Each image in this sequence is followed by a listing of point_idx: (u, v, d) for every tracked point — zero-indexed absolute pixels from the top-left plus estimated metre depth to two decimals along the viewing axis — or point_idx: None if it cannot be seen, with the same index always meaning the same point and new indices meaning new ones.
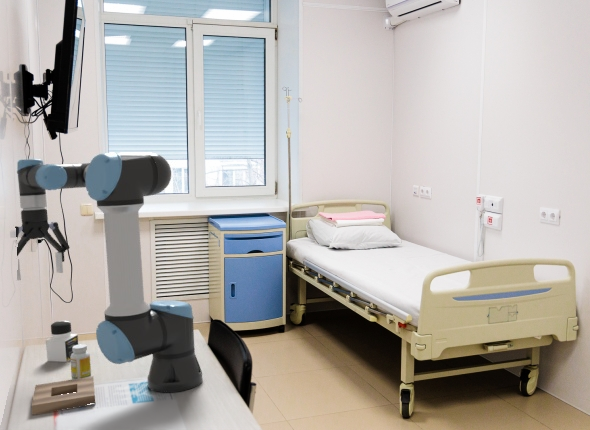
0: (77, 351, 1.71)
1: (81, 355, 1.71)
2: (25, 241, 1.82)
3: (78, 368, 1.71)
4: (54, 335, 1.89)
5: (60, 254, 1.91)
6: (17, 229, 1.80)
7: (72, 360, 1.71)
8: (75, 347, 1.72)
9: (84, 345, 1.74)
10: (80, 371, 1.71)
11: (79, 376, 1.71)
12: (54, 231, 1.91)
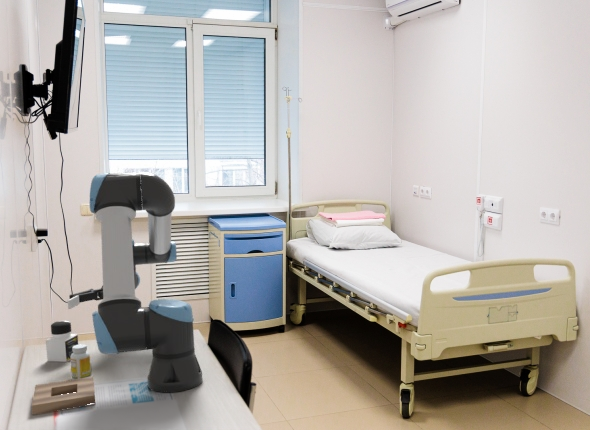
0: (77, 351, 1.71)
1: (81, 355, 1.71)
2: (92, 292, 1.94)
3: (78, 368, 1.71)
4: (54, 335, 1.89)
5: None
6: (91, 289, 1.98)
7: (72, 360, 1.71)
8: (75, 347, 1.72)
9: (84, 345, 1.74)
10: (80, 371, 1.71)
11: (79, 376, 1.71)
12: None
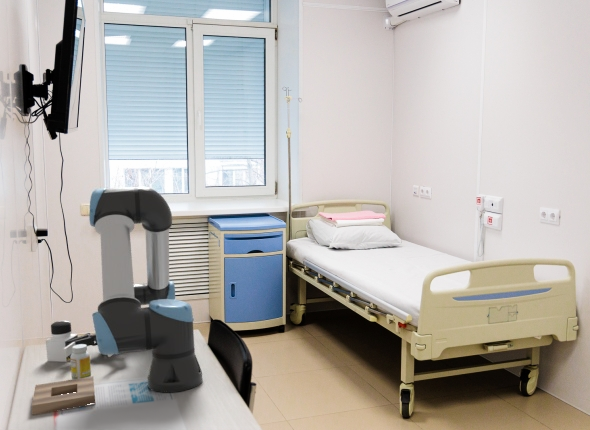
0: (77, 351, 1.71)
1: (81, 355, 1.71)
2: (89, 337, 1.90)
3: (78, 368, 1.71)
4: (54, 335, 1.89)
5: None
6: (88, 333, 1.95)
7: (72, 360, 1.71)
8: (75, 347, 1.72)
9: (84, 345, 1.74)
10: (80, 371, 1.71)
11: (79, 376, 1.71)
12: None
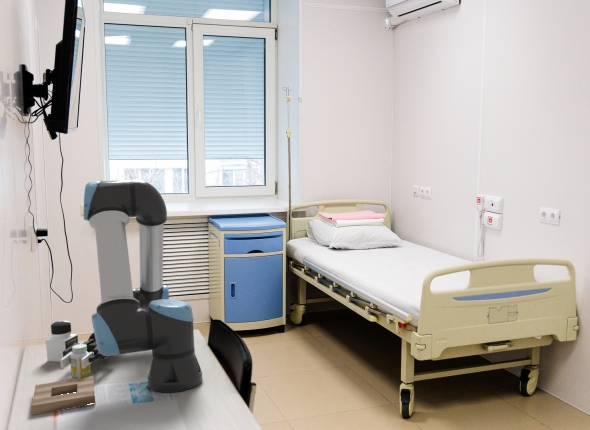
0: (77, 351, 1.71)
1: (81, 355, 1.71)
2: None
3: (78, 368, 1.71)
4: (54, 335, 1.89)
5: (90, 352, 1.74)
6: (76, 342, 1.85)
7: (72, 360, 1.71)
8: (75, 347, 1.72)
9: (84, 345, 1.74)
10: (80, 370, 1.71)
11: (79, 376, 1.71)
12: None
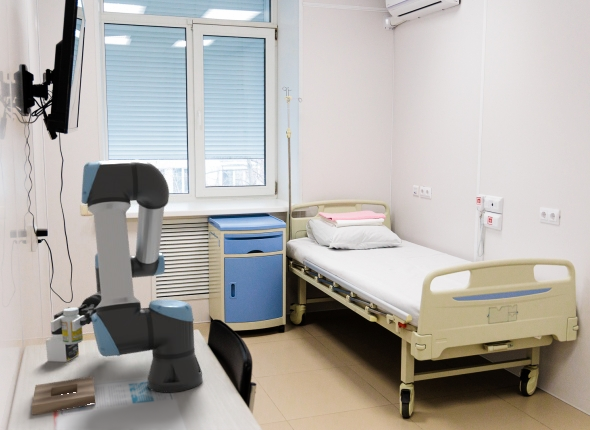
0: (68, 314, 1.67)
1: (72, 318, 1.67)
2: None
3: (69, 331, 1.66)
4: (54, 335, 1.89)
5: (82, 315, 1.69)
6: None
7: (63, 323, 1.67)
8: (66, 310, 1.67)
9: (75, 308, 1.69)
10: (71, 334, 1.67)
11: (70, 339, 1.67)
12: None
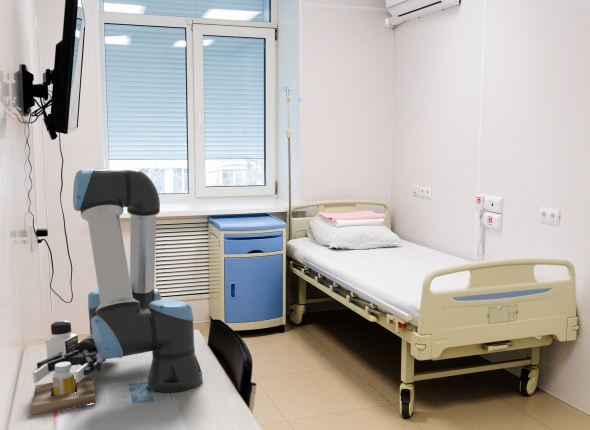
0: (60, 370, 1.56)
1: (64, 374, 1.56)
2: (63, 357, 1.66)
3: (61, 388, 1.56)
4: (54, 335, 1.89)
5: (85, 364, 1.59)
6: (60, 353, 1.70)
7: (54, 380, 1.56)
8: (58, 365, 1.56)
9: (68, 363, 1.58)
10: (63, 391, 1.56)
11: None
12: None
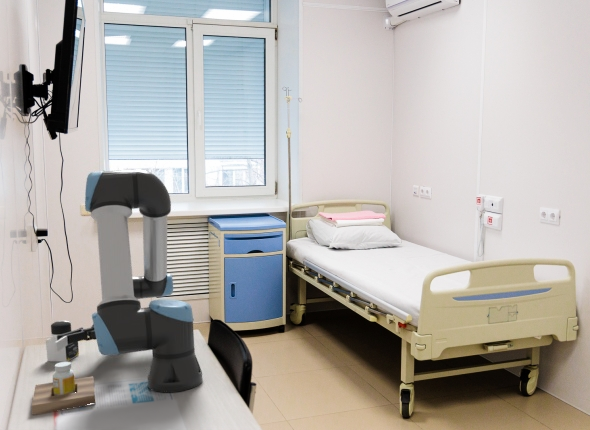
0: (60, 370, 1.56)
1: (64, 374, 1.56)
2: (82, 331, 1.80)
3: (61, 388, 1.56)
4: (54, 335, 1.89)
5: None
6: (81, 328, 1.84)
7: (54, 380, 1.56)
8: (58, 365, 1.56)
9: (68, 363, 1.58)
10: (63, 391, 1.56)
11: None
12: None
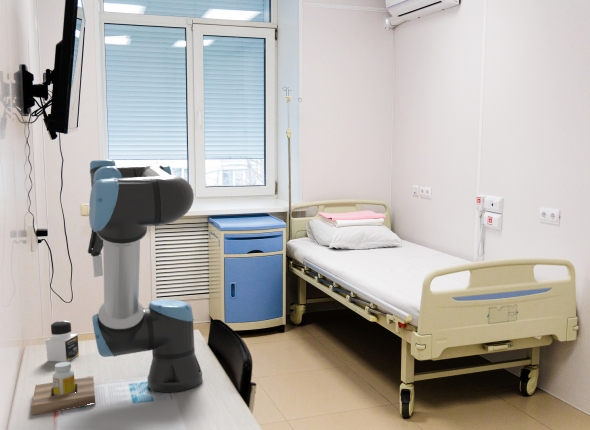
0: (60, 370, 1.56)
1: (64, 374, 1.56)
2: (97, 241, 1.85)
3: (61, 388, 1.56)
4: (54, 335, 1.89)
5: None
6: None
7: (54, 380, 1.56)
8: (58, 365, 1.56)
9: (68, 363, 1.58)
10: (63, 391, 1.56)
11: None
12: None
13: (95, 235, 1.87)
